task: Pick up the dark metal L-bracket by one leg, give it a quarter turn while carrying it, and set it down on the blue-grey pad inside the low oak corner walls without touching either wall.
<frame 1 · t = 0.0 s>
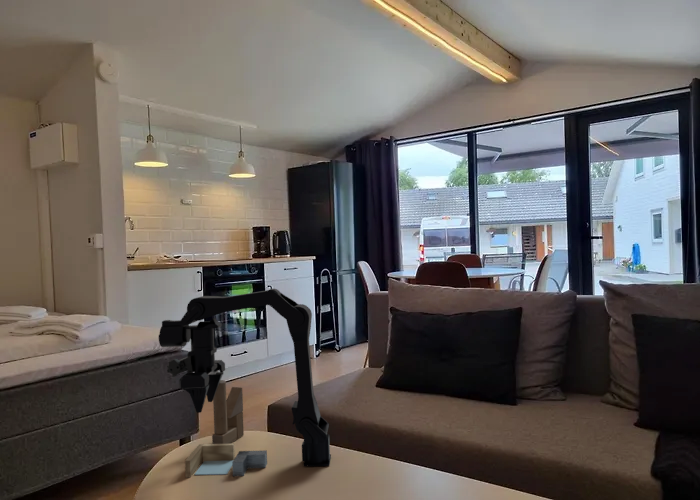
hand: (204, 406, 132), 15 cm above the table, tool pointing down, fingers open, 9 cm apart
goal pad: (215, 467, 129), on the table
bracket: (243, 466, 130), on the table
corner walls: (213, 467, 130), on the table
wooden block: (228, 442, 148), on the table
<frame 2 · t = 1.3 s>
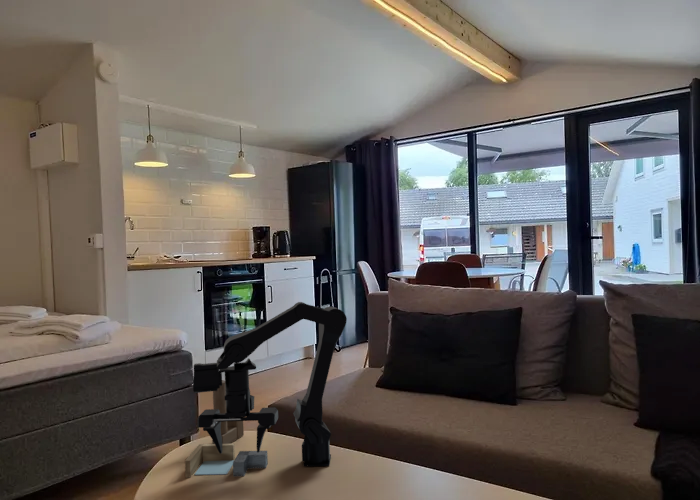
hand: (239, 452, 126), 5 cm above the table, tool pointing down, fingers open, 9 cm apart
nothing on the table moved.
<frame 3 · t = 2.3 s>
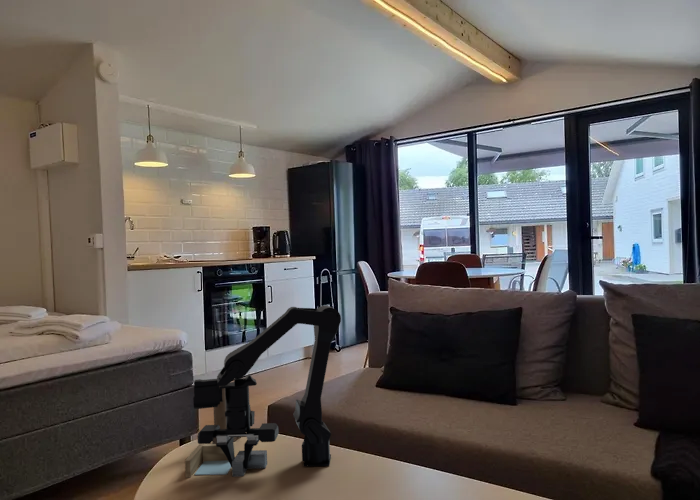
hand: (240, 468, 126), 1 cm above the table, tool pointing down, fingers closed on bracket, 3 cm apart
bracket: (243, 466, 130), on the table, touching gripper
everything else where it was.
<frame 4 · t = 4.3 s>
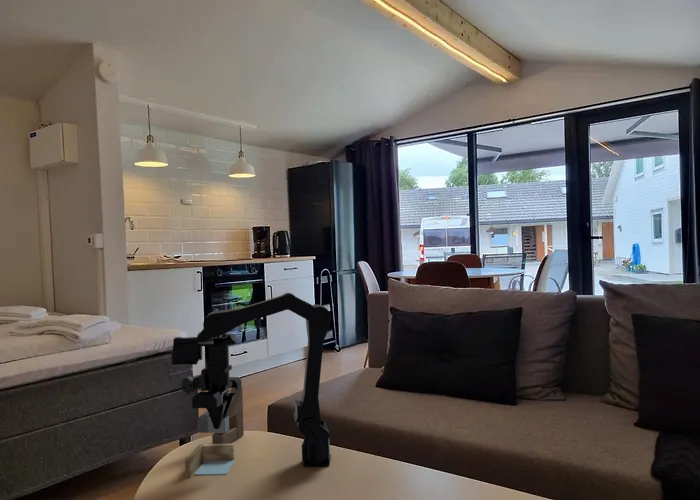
hand: (218, 426, 127), 11 cm above the table, tool pointing down, fingers closed on bracket, 3 cm apart
bracket: (205, 430, 127), point 10 cm above the table, touching gripper
everything else where it was.
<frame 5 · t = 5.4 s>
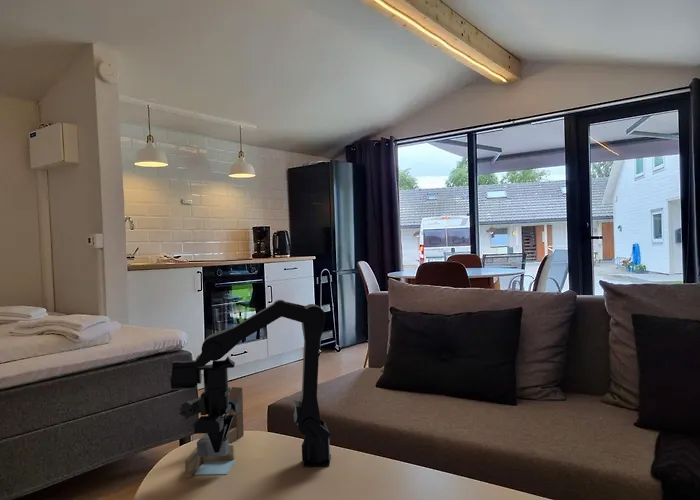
hand: (218, 449, 127), 5 cm above the table, tool pointing down, fingers closed on bracket, 3 cm apart
bracket: (204, 454, 127), point 4 cm above the table, touching gripper
everything else where it was.
when the fingers open (2 cm above the table, at t = 6.2 s): bracket drops 1 cm, resting on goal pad.
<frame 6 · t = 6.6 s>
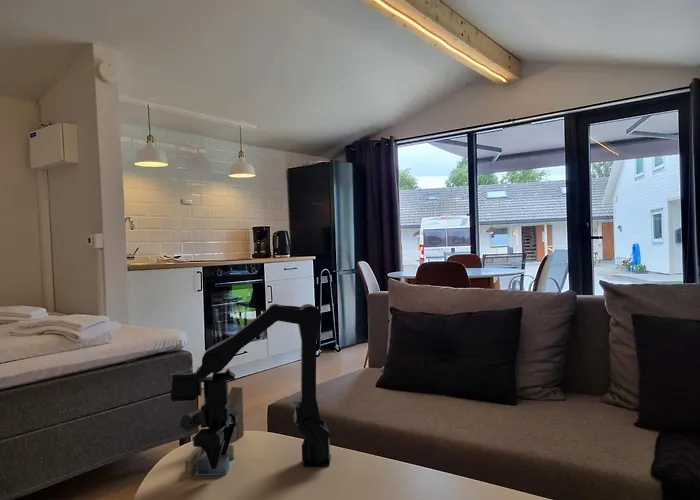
hand: (218, 462, 127), 2 cm above the table, tool pointing down, fingers open, 7 cm apart
bracket: (205, 471, 127), resting on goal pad
everything else where it was.
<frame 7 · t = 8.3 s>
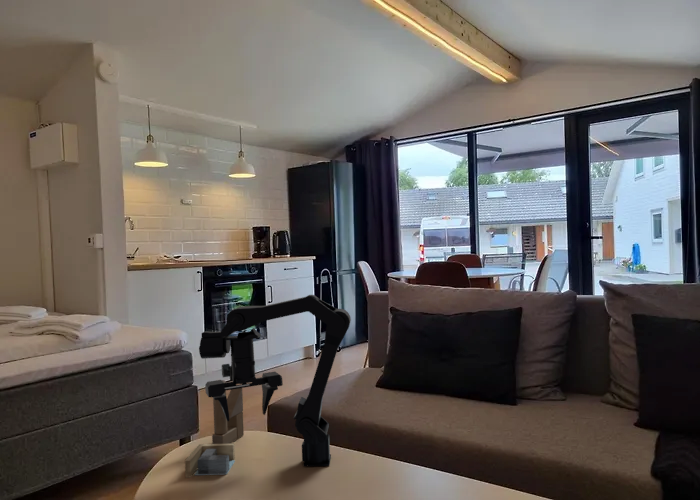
hand: (246, 417, 132), 12 cm above the table, tool pointing down, fingers open, 9 cm apart
nothing on the table moved.
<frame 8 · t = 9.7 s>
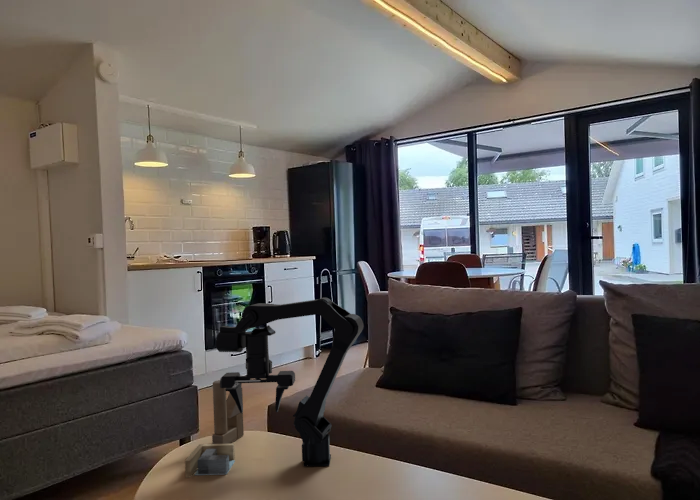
hand: (259, 412, 134), 12 cm above the table, tool pointing down, fingers open, 9 cm apart
nothing on the table moved.
at the end: bracket 0.4 cm from the target spot, resting on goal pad; bracket touching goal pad; bracket tilted 0° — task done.
